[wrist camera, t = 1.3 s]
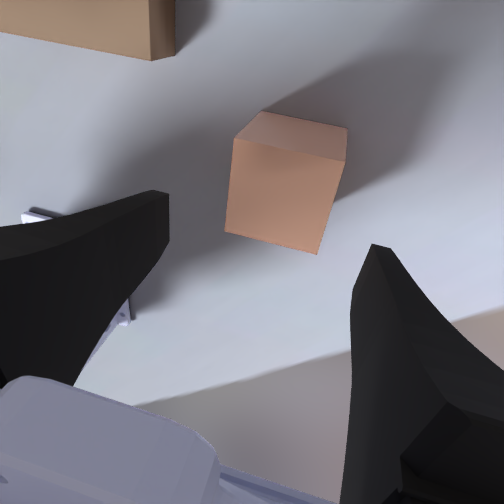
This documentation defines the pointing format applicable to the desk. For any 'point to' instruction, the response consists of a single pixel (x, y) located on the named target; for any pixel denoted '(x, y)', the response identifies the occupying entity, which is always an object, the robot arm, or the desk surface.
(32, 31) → the walnut slab
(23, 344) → the robot arm
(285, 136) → the terracotta block
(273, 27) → the desk surface
